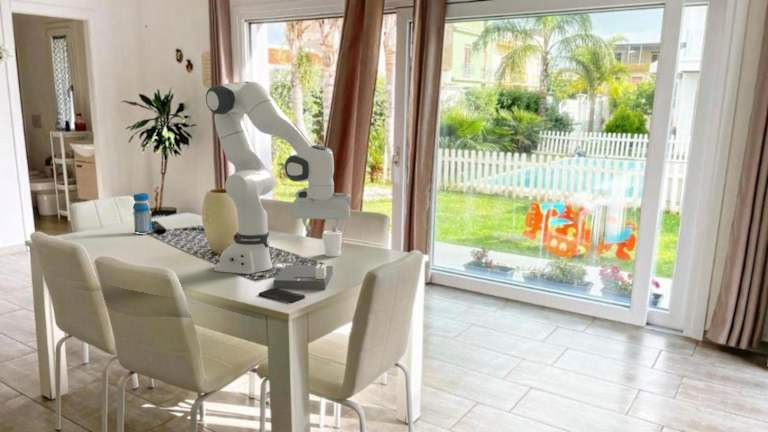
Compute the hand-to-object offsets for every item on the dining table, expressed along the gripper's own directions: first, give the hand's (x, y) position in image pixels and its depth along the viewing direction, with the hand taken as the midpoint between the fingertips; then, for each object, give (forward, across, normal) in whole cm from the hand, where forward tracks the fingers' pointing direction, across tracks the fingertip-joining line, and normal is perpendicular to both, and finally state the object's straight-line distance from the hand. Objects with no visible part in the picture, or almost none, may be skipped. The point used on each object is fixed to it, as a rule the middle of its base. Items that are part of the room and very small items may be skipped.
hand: (321, 231), depth 203 cm
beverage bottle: (+21, +102, -77) cm, 130 cm away
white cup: (+20, +2, -43) cm, 47 cm away
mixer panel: (+20, +7, -4) cm, 21 cm away
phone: (+20, +11, +15) cm, 27 cm away
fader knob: (+16, 0, +2) cm, 16 cm away
